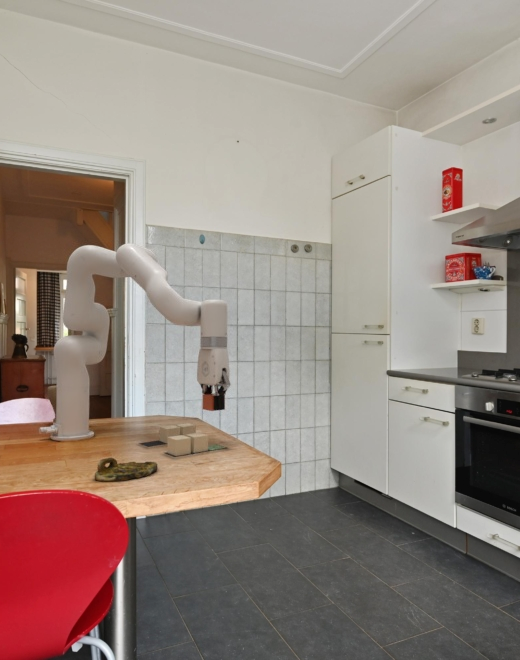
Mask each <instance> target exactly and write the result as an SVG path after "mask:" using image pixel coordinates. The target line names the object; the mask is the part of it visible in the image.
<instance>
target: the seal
mask: <svg viewBox="0 0 520 660" xmlns="http://www.w3.org/2000/svg"><path fill="white" fill-rule="evenodd" d="M106 464H108V465H107V466H106ZM157 469H158V463H157V462H155V461H145V462H136V461H129V462H122V463H121V462H119V463H118V460H117V459H116V458H115V457H107V458H102V459H100V460H99V461H98V463H97V470H96V471H95V473H94V480H95V481H99V482H122V481H127V480H132V479H139V478H143V477H146V476H150V475H151V474H153V473H154V472H155V471H156V470H157Z"/></svg>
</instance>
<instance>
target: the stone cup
mask: <svg viewBox="0 0 520 660" xmlns="http://www.w3.org/2000/svg"><path fill="white" fill-rule="evenodd" d="M47 397H48V400H49V403H50V405H51V408H52V410H53V413H54V418H53V419H52V423H56V401H57V384H56V385H51V386H48V387H47Z"/></svg>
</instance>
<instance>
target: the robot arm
mask: <svg viewBox="0 0 520 660" xmlns="http://www.w3.org/2000/svg"><path fill="white" fill-rule="evenodd" d="M93 275H98V276H102V277H106V278H113V279H122V278H131V279H132V280H133V281H134V282H135V283H136V284H137V285H138V286H139V287H140V288H142V290H144V292H145V294H146V296H147V298H148V300H149V302H150V303H151V305H152V306H153V308H154V309H156V310H157V311H158V312H159V313H160V315H162V316H163V317H164V318H165V319H166V320H167V321H168V322H170V323H171V324H174V325H176V326H181V327H182V326H186V327H200V348H199V351H198V357H197V369H196V381H197V382H198V384H199V386H200V387H201V390H202V391H201V393H202V395H203V394H213V390H214V393H215V395H216V396H214V410H217V411H224V395H225V396H226V395H227V391H228V389H229V388H230V387H231V385H232V384H231V381H230V359H229V350H228V303H227V302H226V301H225V300H224V299H223V300H222V299H205V300H202V301H198V300H193V299H188V298H183V297H182V296H181V295H180V294H179V293H178V292H177V291H176V290H175V289H173V287H172V286H171V285H170V284H169V282H168V279H169V274H168V272H167V271H166V269H165V268H164V267H163V266H161V264H159V263H158V257H157V255H156V253H154V252H153V251H152V250H151V249H150V248H148V247H145V246H142V245H139V244H136V243H131V242H130V243H128V242H127V243H124V244H122V245H120V246H119V247H118V248H117V250H116V251H115V250H111V249H108V248H105V247H102V246H98V245H92V244H87V245H86V244H85V245H82V246H79V247H78V248H76V249H75V250H74V251H72V253H71V254H70V255H69V258H68V260H67V263H66V286H65V293H64V294H65V295H64V303H63V311H62V323H63V326H65V328H66V329H68V330H70V331H74V332H75V331H76V332H82V333H81V334H69V335H65V336H62V337H61V338H59V339H58V340H57V341H56V342H55V344H54V347H53V358H54V359H53V360H54V364H55V371H56V385H57V401H56V423H54V422H52V425H49V426H41V427H39V428H38V433H39V435H43V434H46V435H49V434H50V437H49V438H50V439H51V440H53V441H58V442H63V441H64V442H65V441H79V440H86V439H90V438H93V437H94V436H95V431H93V430H90V374H89V372H88V369H87V366H90V365H91V366H92V365H97V364H99V363H101V362H102V361H103V359H104V358H105V356H106V353H107V349H108V348H107V347H108V341H109V331H110V322H111V321H110V319H111V318H110V313H109V310H108V309H107V308H106V307H105V305H103V304H101V303H99V302H95V295H96V285H95V281H94V278H93Z"/></svg>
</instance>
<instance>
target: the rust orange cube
mask: <svg viewBox="0 0 520 660" xmlns="http://www.w3.org/2000/svg"><path fill="white" fill-rule="evenodd" d="M212 393H213V392H212ZM212 393H211V394H203V393H202V410H205V411H209V412H216V411H218V410H214V396H216V395H215V392H214V393H213V394H212ZM224 410H226V395H224ZM224 410H223V411H224Z"/></svg>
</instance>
